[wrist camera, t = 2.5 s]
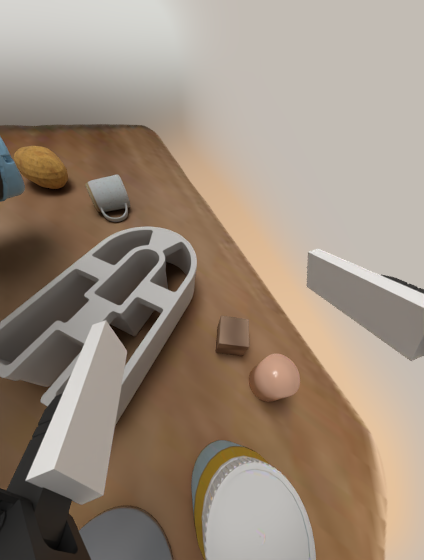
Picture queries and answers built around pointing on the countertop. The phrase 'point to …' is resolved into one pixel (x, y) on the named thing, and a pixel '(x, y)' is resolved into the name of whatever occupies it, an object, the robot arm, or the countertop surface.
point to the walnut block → (232, 336)
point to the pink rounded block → (274, 378)
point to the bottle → (247, 508)
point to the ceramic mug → (109, 196)
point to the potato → (41, 166)
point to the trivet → (125, 536)
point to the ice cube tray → (100, 310)
